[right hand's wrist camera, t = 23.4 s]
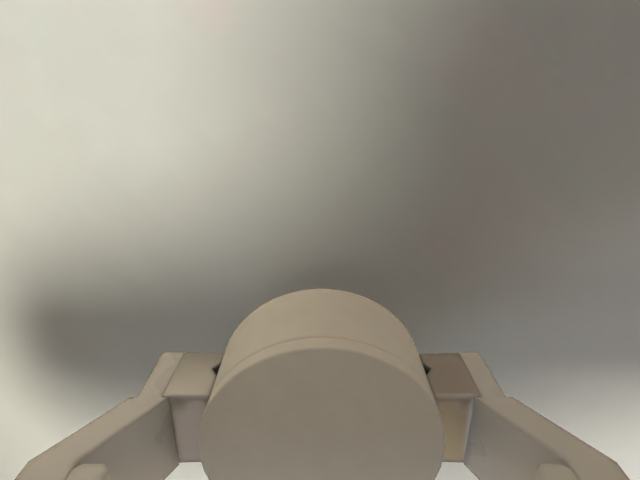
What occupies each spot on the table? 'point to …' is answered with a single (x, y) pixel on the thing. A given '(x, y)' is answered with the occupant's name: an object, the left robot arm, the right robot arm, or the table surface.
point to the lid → (321, 396)
